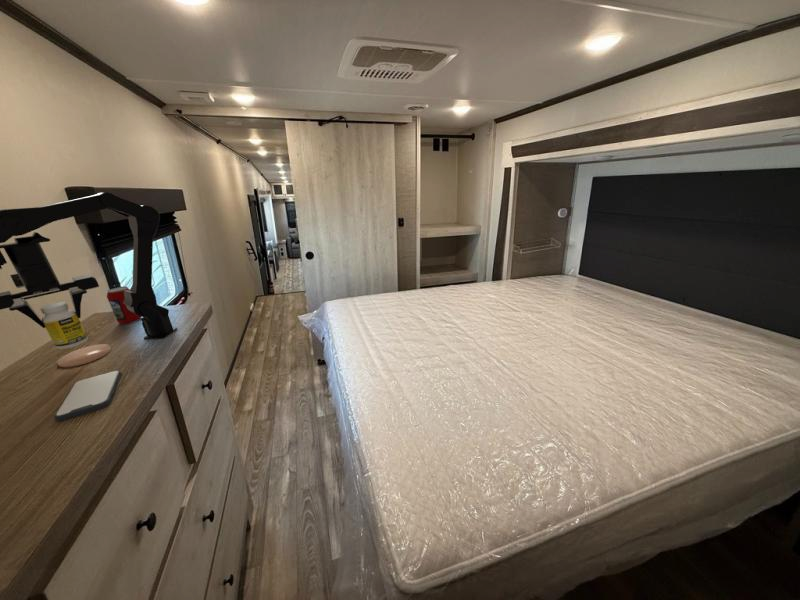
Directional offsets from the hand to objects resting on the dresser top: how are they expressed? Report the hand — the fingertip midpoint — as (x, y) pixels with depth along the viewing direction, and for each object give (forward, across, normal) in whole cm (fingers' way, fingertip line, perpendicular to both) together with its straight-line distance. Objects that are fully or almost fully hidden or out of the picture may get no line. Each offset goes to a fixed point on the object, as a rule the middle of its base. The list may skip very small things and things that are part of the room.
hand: (62, 322), depth 81 cm
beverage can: (+12, -15, -25) cm, 32 cm away
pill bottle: (+6, 0, 0) cm, 6 cm away
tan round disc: (+12, -1, -4) cm, 13 cm away
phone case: (+13, +1, +22) cm, 25 cm away
